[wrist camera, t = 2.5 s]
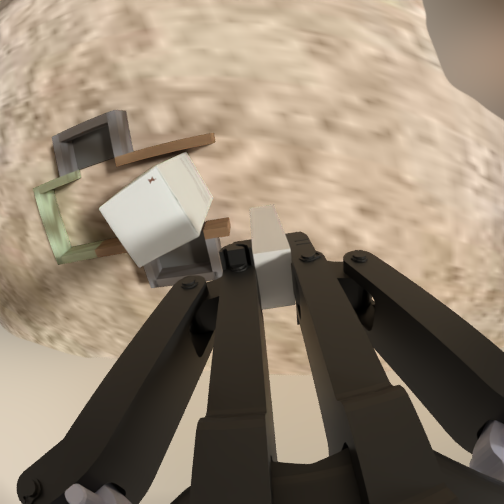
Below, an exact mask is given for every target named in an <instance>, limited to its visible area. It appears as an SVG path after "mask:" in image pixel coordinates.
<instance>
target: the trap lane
mask: <svg viewBox="0 0 504 504" xmlns="http://www.w3.org/2000/svg"><path fill="white" fill-rule="evenodd" d="M52 141H53V147H54V152H55V157H56V162H57V166H58V171H59V175H60V177H59V178H56V179H54V180H51V181H49V182H47V183H44V184H42V185H40V186H38V187H35V188H33V191H34V194H35V198H36V202H37V205H38V209H39V212H40V215H41V218H42V222H43V225H44V228H45V231H46V234H47V236H48V239H49V242H50V245H51V247H52V250H53V253H54V255H55V258H56V260H57V263H58V265H60V264H66V263H71V262H76V261H82V260H87V259H93V258H98V257H104V256H109V255H115V254H121V253H127V250H126V249H125V248H124V246H123V245H122V243H121V242H120V240H119V239H118V237H117V238H112V239H107V240H102V241H98V242H93V243H88V244H84V245H79V246H75V247H71V244H70V241H69V239H68V236H67V233H66V230H65V227H64V224H63V221H62V217H61V214H60V211H59V208H58V204H57V201H56V197H55V193H54V190H53V189H54V188H56V187H59V186H62V185H64V184H67V183H69V182H72V181H74V180H76V179H79V178H81V175H80V171H79V170H80V169H83V168H85V167H88V166H91V165H94V164H97V163H100V162H103V161H106V160H109V159H112V158H115V162H116V167H117V166H121V165H124V164H128V163H131V162H135V161H138V160H142V159H146V158H150V157H153V156H157V155H161V154H166V153H170V152H174V151H178V150H183V149H188V148H192V147H197V146H202V145H207V144H212V143H215V137H214V133H209V134H204V135H199V136H194V137H190V138H185V139H181V140H176V141H172V142H168V143H164V144H160V145H156V146H152V147H148V148H145V149H141V150H138V151H134V152H133V147H132V142H131V136H130V131H129V125H128V120H127V114H126V111H123V110H113V111H110V112H107V113H105V114H102V115H100V116H97V117H95V118H92V119H90V120H87V121H85V122H83V123H80V124H78V125H76V126H74V127H71V128H69V129H67V130H65V131H63V132H61V133H59V134H57V135H55V136H53V137H52ZM229 234H230V221H229V218H222V219H216V220H210V221H206V224H205V227H204V229H203V230H202V231H201V232H200V235H199V237H197V238H195V239H193V240H191V241H189V242H187V243H185V244H183V245H181V246H179V247H177V248H175V249H174V250H172V251H170V252H168V253H166V254H164V255H162V256H160V257H158V258H156V259H154V260H152V261H151V262H149V263H147V264H145V265H143V267H144V270H145V272H146V275H147V278H148V281H149V284H150V286H151V288H156V287H164V286H172V285H174V284H175V283H176V282H177V281H178V280H180V279H182V278H183V277H186V276H190V275H199V276H202V277H204V278H205V280H206V281H211V280H216V279H218V278H220V277H221V276H222V272H223V269H222V264H221V260H220V255H219V251H220V249H221V244H220V239H219V237H225V236H229Z"/></svg>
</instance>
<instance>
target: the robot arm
mask: <svg viewBox="0 0 504 504" xmlns="http://www.w3.org/2000/svg"><path fill="white" fill-rule="evenodd" d="M250 223H251V238H252V239H251V240H244V241H238V242H233V243H232V244H229V245H227V246H225V247H223V248H222V249H220V251H219V255H220V260H221V264H222V269H223V272H222V276H221V277H220V278H218V279H216V280H213V281H210V282H207V283H206V280H205V278H204V277H202V276H199V275H190V276H186V277H183V278H182V279H180V280H178V281H177V282H176V283H175V284H174V286H173V287H172V288H171V289H170V291H169V292H168V293H167V295H166V296H165V297H164V298H163V300H162V301H161V302H160V304H159V305H158V306H157V307H156V309H155V310H154V311H153V313H152V314H151V315H150V317H149V318H148V319H147V321H146V322H145V323H144V325H143V326H142V327H141V329H140V330H139V331H138V333H137V334H136V335H135V337H134V338H133V339H132V341H131V342H130V343H129V345H128V346H127V347H126V349H125V350H124V352H123V353H122V354H121V356H120V357H119V358H118V360H117V361H116V363H115V364H114V365H113V367H112V368H111V370H110V371H109V372H108V374H107V375H106V377H105V378H104V379H103V381H102V382H101V384H100V385H99V387H98V388H97V389H96V391H95V393H94V394H93V395H92V397H91V398H90V400H89V401H88V403H87V404H86V406H85V407H84V408H83V410H82V411H81V413H80V414H79V416H78V417H77V419H76V420H75V422H74V424H73V425H72V426H71V428H70V430H69V431H68V433H67V434H66V436H65V437H64V439H63V440H61V441H60V442H59V443H58V444H57V445H56V446H54V447H53V448H52V449H51V450H49V451H48V452H47V453H46V454H45V455H43V456H42V457H41V458H40V459H39V460H37V461H36V462H35V463H34V464H32V465H31V466H30V467H29V468H28V469H26V470H25V471H24V472H23V473H22V474H21V475H20V477H19V479H18V482H17V494H18V497H19V500H20V501H21V503H22V504H139V503H140V501H141V500H142V498H143V497H144V496H145V494H146V493H147V491H148V489H149V487H150V486H151V484H152V482H153V480H154V478H155V476H156V474H157V471H158V469H159V467H160V465H161V462H162V460H163V458H164V456H165V454H166V451H167V449H168V447H169V445H170V443H171V440H172V438H173V436H174V434H175V432H176V429H177V427H178V425H179V422H180V420H181V418H182V416H183V414H184V411H185V409H186V407H187V405H188V402H189V400H190V398H191V396H192V394H193V391H194V389H195V387H196V385H197V382H198V380H199V378H200V376H201V373H202V371H203V369H204V367H205V365H206V362H207V360H208V358H209V356H210V353H211V351H212V349H213V355H212V365H211V375H210V384H209V395H208V404H207V413H206V416H205V417H204V418H200V420H199V421H198V424H197V429H196V437H195V447H194V457H193V467H192V479H191V486H190V487H188V488H187V489H186V490H184V491H183V492H182V493H181V494H180V495H179V496H178V497H177V498H176V499H175V500H174V501H173V502H171V503H170V504H504V352H503V351H502V350H501V349H499V348H498V347H497V346H496V345H495V344H493V343H492V342H491V341H490V340H489V339H487V338H486V337H485V336H484V335H483V334H481V333H480V332H479V331H478V330H476V329H475V328H474V327H473V326H471V325H470V324H469V323H468V322H466V321H465V320H464V319H463V318H461V317H460V316H459V315H457V314H456V313H455V312H454V311H452V310H451V309H450V308H448V307H447V306H446V305H444V304H443V303H442V302H440V301H439V300H438V299H436V298H435V297H434V296H432V295H431V294H429V293H428V292H427V291H425V290H424V289H423V288H421V287H420V286H418V285H417V284H415V283H414V282H413V281H411V280H410V279H408V278H407V277H406V276H404V275H403V274H401V273H400V272H398V271H397V270H395V269H394V268H392V267H391V266H390V265H388V264H387V263H385V262H384V261H382V260H381V259H379V258H378V257H376V256H375V255H373V254H371V253H369V252H366V251H363V250H359V251H358V250H355V251H351V252H348V253H346V254H345V255H344V257H343V262H332V261H327V260H326V258H325V256H324V255H323V254H322V253H320V252H318V251H315V249H314V247H313V245H312V243H311V242H310V240H309V238H308V236H307V235H306V234H304V233H302V232H295V233H288V234H285V233H284V230H283V227H282V225H281V222H280V219H279V217H278V214H277V211H276V209H275V206H274V204H273V205H266V206H259V207H253V208H250ZM372 297H373V299H374V301H375V302H374V301H373V300H372ZM295 300H296V310H297V325H299V324H300V327H301V331H302V334H303V338H304V343H305V347H306V351H307V355H308V359H309V363H310V367H311V371H312V375H313V380H314V384H315V388H316V392H317V397H318V401H319V405H320V410H321V414H322V419H323V423H324V428H325V432H326V437H327V441H328V447H329V457H327V458H325V459H322V460H320V461H318V462H316V463H313V464H294V463H282V462H278V461H277V453H276V444H275V434H274V422H273V412H272V401H271V392H270V381H269V371H268V360H267V350H266V340H265V330H264V320H263V313H262V310H263V309H270V308H277V307H283V306H290V305H295ZM374 349H375V350H376V351H377V352H378V353H379V354H380V356H381V357H382V358H383V359H384V360H385V361H386V362H387V364H388V365H389V366H390V367H391V368H392V369H393V370H394V371H395V372H396V374H397V375H398V376H399V377H400V378H401V379H402V381H403V382H404V383H405V384H406V385H407V386H408V387H409V389H410V390H411V391H412V392H413V393H414V394H415V395H416V397H417V398H418V399H419V400H420V401H421V402H422V404H423V405H424V406H425V407H426V408H427V410H428V411H429V412H430V413H431V414H432V415H433V417H434V418H435V419H436V420H437V421H438V423H439V424H440V425H441V426H442V427H443V429H444V430H445V431H446V432H447V433H448V434H449V435H450V436H451V437H452V439H453V440H454V441H455V442H457V443H458V444H459V445H460V446H461V447H462V448H464V449H465V450H466V451H468V452H470V453H471V454H473V455H472V459H471V461H470V468H469V467H467V466H465V465H463V464H461V463H459V462H456V461H454V460H452V459H450V458H448V457H446V456H444V455H442V454H440V453H438V452H436V451H434V450H432V448H431V445H430V443H429V440H428V438H427V435H426V433H425V431H424V428H423V426H422V424H421V422H420V419H419V417H418V415H417V413H416V410H415V408H414V406H413V404H412V402H411V400H410V398H409V396H408V394H407V392H406V391H405V389H404V388H403V387H402V386H400V385H397V386H393V385H391V383H390V382H389V380H388V378H387V376H386V373H385V371H384V369H383V367H382V365H381V363H380V361H379V359H378V356H377V354H376V352H375V350H374Z"/></svg>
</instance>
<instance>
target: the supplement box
mask: <svg viewBox="0 0 504 504" xmlns="http://www.w3.org/2000/svg"><path fill="white" fill-rule="evenodd" d="M212 200H213V197H212V195H211V193H210V191H209V189H208V188H207V186H206V184H205V183H204V181H203V179H202V177H201V176H200V174H199V172H198V171H197V169H196V167H195V166H194V164H193V162H192V161H191V159H190V157H189V155H188V154H187V152H184V153H182V154H180V155H177V156H175V157H173V158H171V159H169V160H166V161H164V162H162V163H160V164H158V165H156V166H154V167H153V168H151V169H150V170H148V171H147V172H145V173H144V174H142V175H141V176H139V177H138V178H136V179H135V180H133V181H132V182H131V183H129V184H128V185H127V186H125V187H124V188H123V189H121V190H120V191H119V192H118V193H116V194H115V195H114V196H113V197H112V198H110V199H109V200H108V201H107V202H105V203H104V204H103V205H102V206H101V207H100V208H99V210H100V212H101V213H102V215H103V216H104V218H105V219H106V221H107V222H108V224H109V225H110V227H111V228H112V230H113V231H114V233H115V234H116V236H117V237H118V239H119V240H120V242H121V243H122V245H123V246H124V248H125V249H126V250H127V252H128V253H129V255H130V256H131V258H132V259H133V260H134V262H135V263H136V265H137V266H138V267H139V268H140V267H142V266H143V265H145V264H147V263H149V262H151V261H152V260H154V259H156V258H158V257H160V256H162V255H164V254H166V253H168V252H170V251H172V250H174V249H175V248H177V247H179V246H181V245H183V244H185V243H187V242H189V241H191V240H193V239H195V238H197V237H199V235H200V232H201V229H202V226H203V223H204V221H205V218H206V216H207V213H208V210H209V208H210V205H211V202H212Z"/></svg>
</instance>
